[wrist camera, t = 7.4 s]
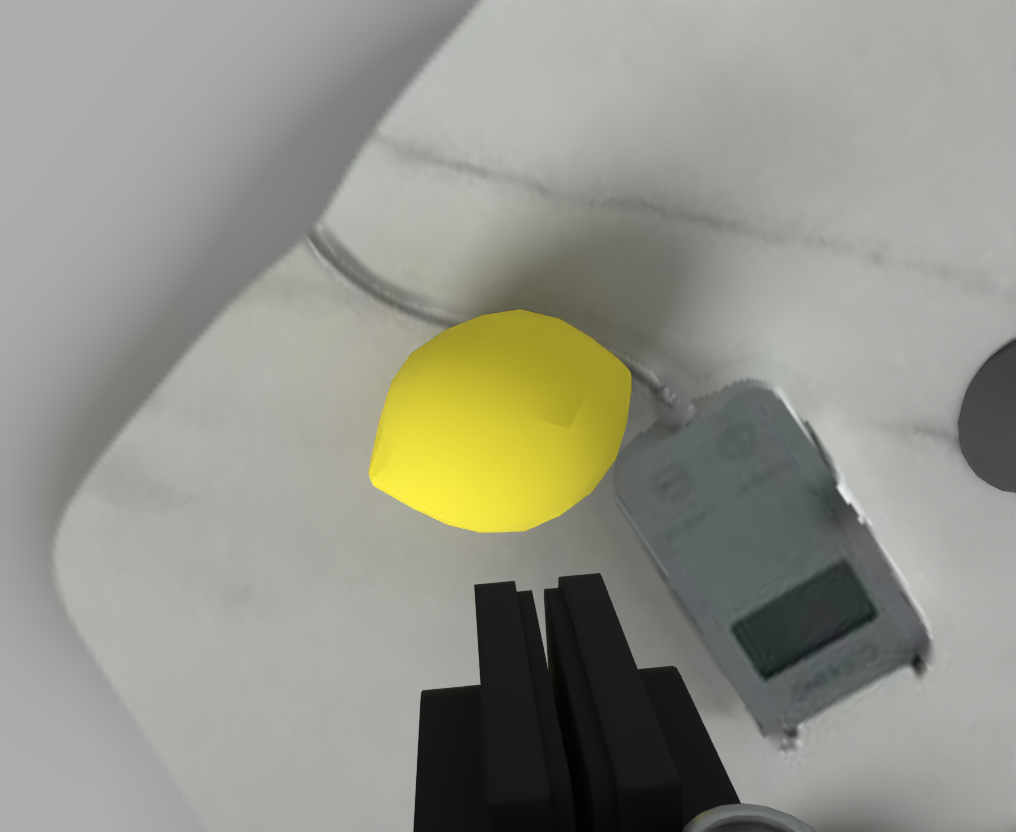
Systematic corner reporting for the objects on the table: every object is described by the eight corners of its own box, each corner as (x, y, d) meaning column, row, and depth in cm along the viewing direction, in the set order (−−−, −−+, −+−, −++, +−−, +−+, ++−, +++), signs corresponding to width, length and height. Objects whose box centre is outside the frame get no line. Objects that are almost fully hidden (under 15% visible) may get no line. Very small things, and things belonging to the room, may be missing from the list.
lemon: (578, 260, 22) (615, 283, 17) (641, 436, 24) (693, 508, 18) (339, 355, 22) (304, 407, 17) (416, 523, 24) (406, 618, 19)
